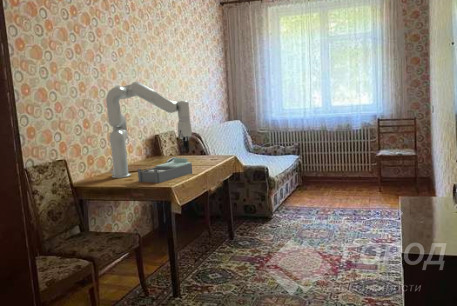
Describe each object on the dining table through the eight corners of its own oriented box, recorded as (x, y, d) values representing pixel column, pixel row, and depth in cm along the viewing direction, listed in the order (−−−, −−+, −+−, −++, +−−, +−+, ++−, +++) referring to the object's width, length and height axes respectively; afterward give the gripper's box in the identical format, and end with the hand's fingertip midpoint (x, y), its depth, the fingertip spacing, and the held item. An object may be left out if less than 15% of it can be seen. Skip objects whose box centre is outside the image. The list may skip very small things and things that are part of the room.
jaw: (148, 179, 268) (147, 170, 268) (153, 178, 272) (152, 169, 271) (155, 179, 266) (154, 171, 265) (159, 178, 269) (158, 169, 268)
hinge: (175, 167, 315) (178, 154, 312) (180, 170, 313) (183, 157, 310) (161, 172, 300) (164, 158, 298) (167, 174, 298) (170, 161, 296)
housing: (137, 183, 264) (136, 168, 262) (172, 173, 292) (171, 160, 291) (158, 184, 255) (157, 169, 254) (192, 174, 284) (191, 160, 282)
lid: (155, 166, 278) (155, 161, 277) (171, 162, 291) (171, 157, 291) (176, 167, 269) (175, 162, 269) (191, 163, 283) (191, 158, 282)
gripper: (186, 118, 297) (188, 145, 299) (172, 120, 284) (174, 148, 287) (195, 118, 293) (197, 145, 295) (181, 120, 280) (184, 148, 283)
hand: (186, 146), depth 291 cm, fingers closed
